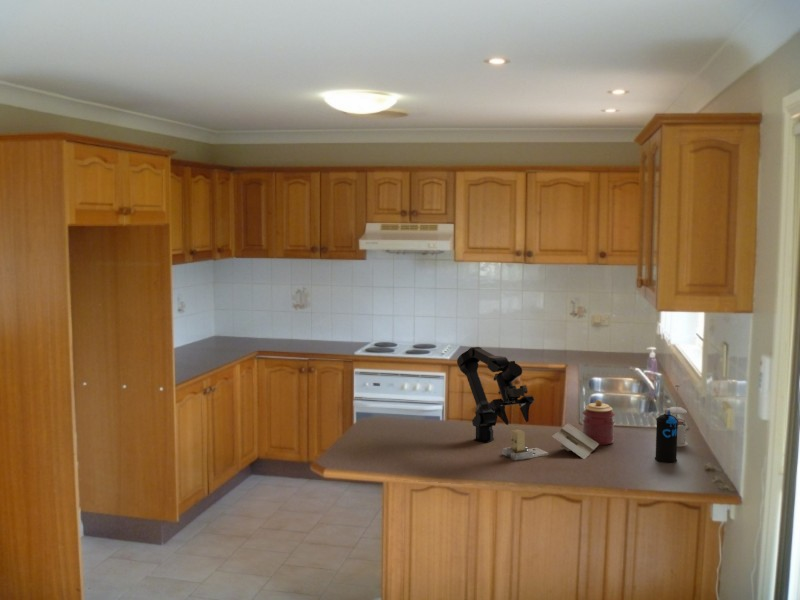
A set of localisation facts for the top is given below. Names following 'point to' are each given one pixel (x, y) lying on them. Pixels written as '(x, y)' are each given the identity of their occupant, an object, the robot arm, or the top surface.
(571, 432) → the pale grey slotted block
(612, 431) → the canister
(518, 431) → the tan rectangular pillar
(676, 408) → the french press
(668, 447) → the aerosol can
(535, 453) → the hinge base
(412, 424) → the top surface
